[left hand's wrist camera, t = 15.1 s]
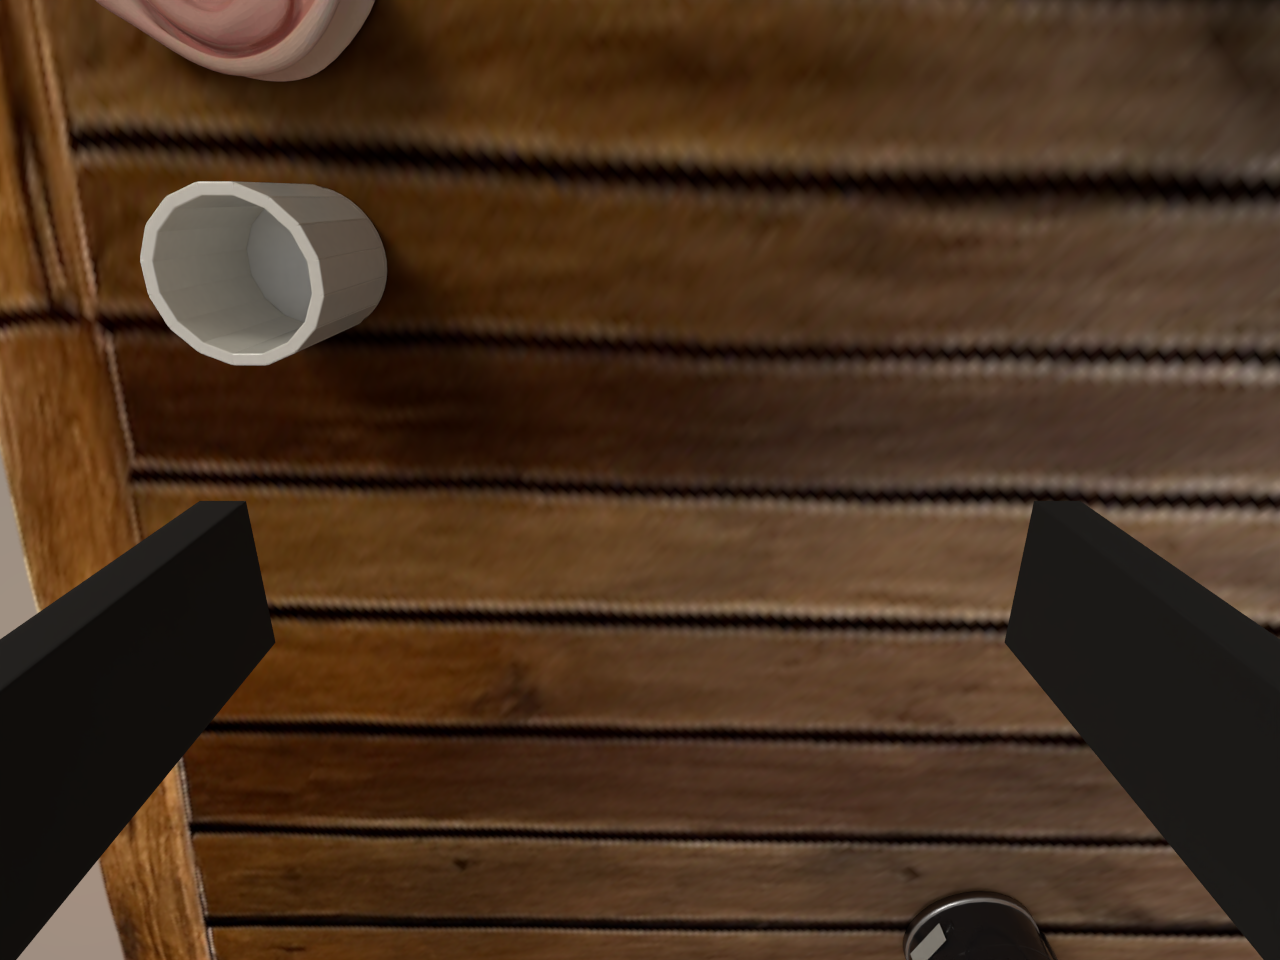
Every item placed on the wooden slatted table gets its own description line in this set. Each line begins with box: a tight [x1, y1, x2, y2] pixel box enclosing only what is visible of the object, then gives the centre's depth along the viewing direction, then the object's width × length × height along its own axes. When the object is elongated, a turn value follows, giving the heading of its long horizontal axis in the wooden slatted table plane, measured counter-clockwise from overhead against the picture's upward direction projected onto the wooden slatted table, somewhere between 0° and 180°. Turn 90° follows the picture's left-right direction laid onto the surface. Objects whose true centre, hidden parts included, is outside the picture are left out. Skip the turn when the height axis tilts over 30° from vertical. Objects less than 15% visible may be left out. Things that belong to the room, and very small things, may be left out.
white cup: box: [140, 182, 387, 365], centre depth 33 cm, size 7×7×8 cm
